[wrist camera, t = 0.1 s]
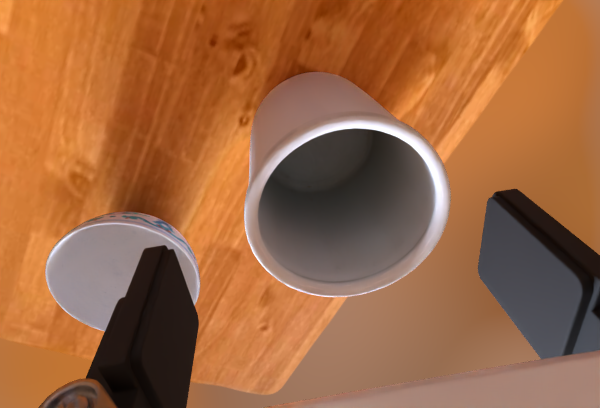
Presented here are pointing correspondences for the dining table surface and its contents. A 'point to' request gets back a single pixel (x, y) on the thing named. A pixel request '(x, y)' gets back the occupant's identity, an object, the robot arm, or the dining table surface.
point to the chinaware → (110, 263)
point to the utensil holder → (340, 189)
